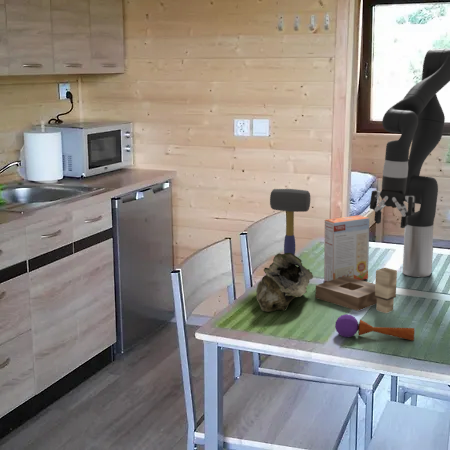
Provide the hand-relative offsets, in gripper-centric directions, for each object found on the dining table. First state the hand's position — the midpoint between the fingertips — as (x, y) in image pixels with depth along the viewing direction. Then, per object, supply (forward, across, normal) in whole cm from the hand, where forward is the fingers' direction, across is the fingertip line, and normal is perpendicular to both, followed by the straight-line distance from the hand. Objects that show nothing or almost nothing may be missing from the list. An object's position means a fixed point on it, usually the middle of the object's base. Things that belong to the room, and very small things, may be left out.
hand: (390, 225), depth 222 cm
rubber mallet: (+21, +29, +12) cm, 38 cm away
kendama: (+20, -18, +43) cm, 51 cm away
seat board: (+20, +1, +20) cm, 28 cm away
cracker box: (+20, +12, +4) cm, 24 cm away
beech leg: (+20, -11, +23) cm, 32 cm away
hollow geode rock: (+21, +16, +32) cm, 42 cm away
